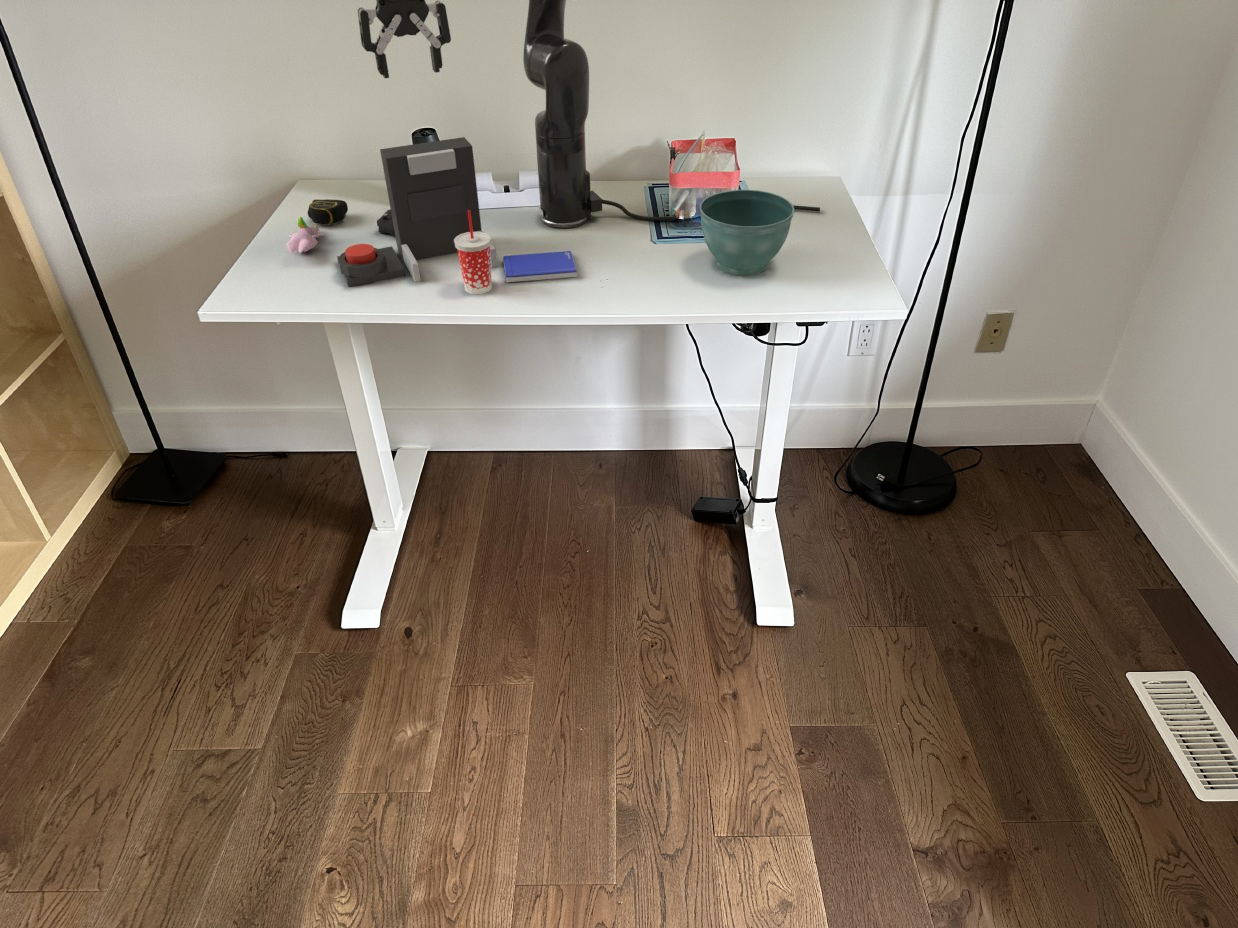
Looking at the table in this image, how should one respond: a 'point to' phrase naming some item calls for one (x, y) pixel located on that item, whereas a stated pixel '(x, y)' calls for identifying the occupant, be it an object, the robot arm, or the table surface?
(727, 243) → the flower pot
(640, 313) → the table surface
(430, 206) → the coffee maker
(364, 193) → the table surface
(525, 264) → the hard drive
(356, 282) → the button deck
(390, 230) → the game controller
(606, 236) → the table surface
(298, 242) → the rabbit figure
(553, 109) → the robot arm
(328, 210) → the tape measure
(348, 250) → the power button
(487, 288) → the beverage cup
